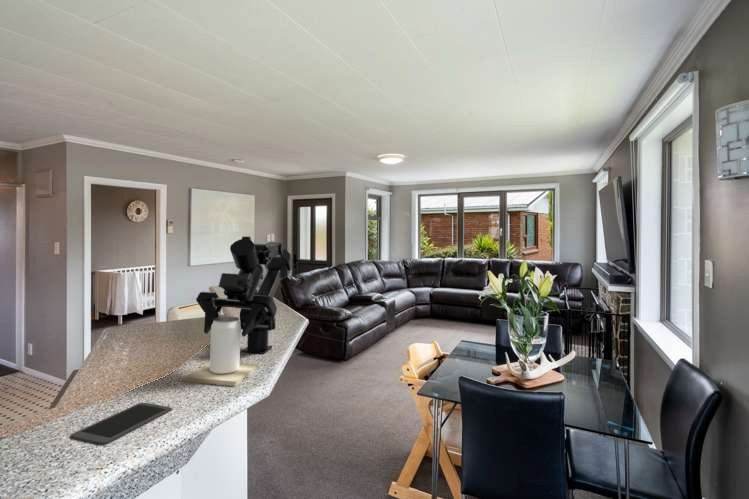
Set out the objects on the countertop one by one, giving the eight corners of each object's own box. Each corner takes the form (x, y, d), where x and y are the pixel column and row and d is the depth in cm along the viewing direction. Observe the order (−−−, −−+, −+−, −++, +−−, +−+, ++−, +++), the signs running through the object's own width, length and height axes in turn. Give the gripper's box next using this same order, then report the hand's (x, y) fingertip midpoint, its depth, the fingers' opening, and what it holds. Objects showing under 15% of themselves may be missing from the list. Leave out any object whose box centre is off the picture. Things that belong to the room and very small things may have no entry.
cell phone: (67, 440, 62) (67, 435, 62) (142, 405, 75) (142, 401, 75) (104, 448, 60) (104, 443, 60) (174, 411, 73) (174, 407, 73)
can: (230, 376, 89) (231, 322, 88) (203, 373, 90) (205, 320, 90) (244, 367, 95) (246, 317, 95) (219, 364, 96) (221, 315, 96)
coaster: (212, 364, 99) (213, 360, 99) (258, 368, 98) (258, 364, 97) (183, 381, 87) (183, 376, 87) (235, 386, 86) (235, 381, 86)
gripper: (201, 259, 98) (171, 311, 87) (273, 262, 95) (252, 317, 85) (217, 287, 106) (191, 338, 95) (284, 291, 103) (266, 344, 93)
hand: (224, 334), depth 92 cm, fingers open, 9 cm apart
